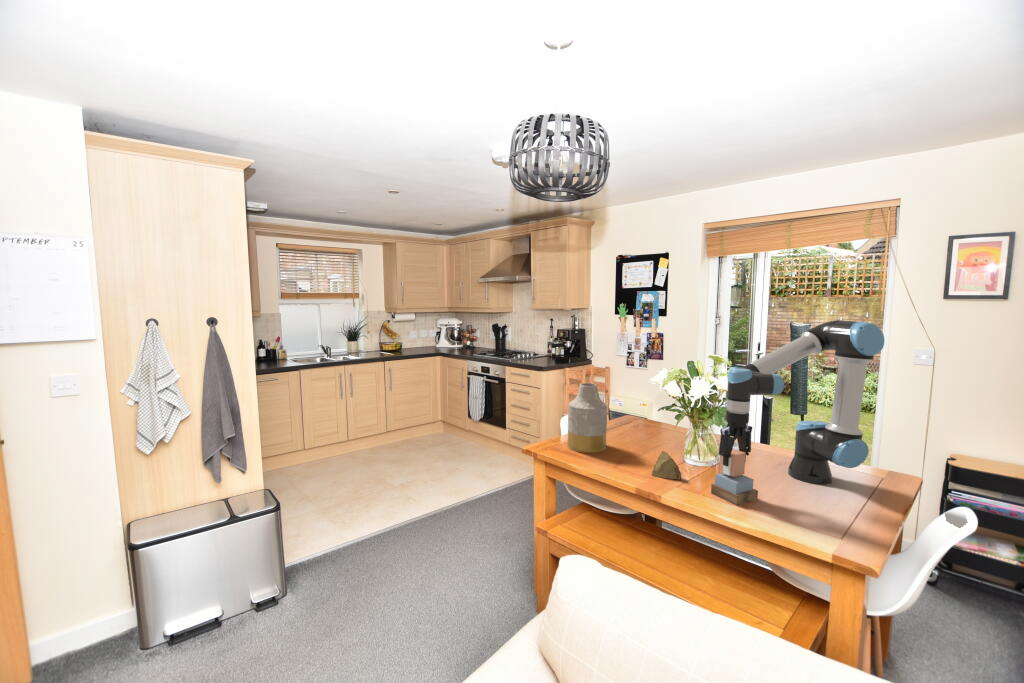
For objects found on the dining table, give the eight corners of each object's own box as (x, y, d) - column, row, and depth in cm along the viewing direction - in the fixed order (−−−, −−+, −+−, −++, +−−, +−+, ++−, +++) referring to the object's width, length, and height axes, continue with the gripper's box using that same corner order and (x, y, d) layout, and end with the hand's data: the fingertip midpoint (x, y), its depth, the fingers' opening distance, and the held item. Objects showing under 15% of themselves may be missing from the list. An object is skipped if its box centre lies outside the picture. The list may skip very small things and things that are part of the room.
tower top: (731, 480, 177) (732, 470, 176) (752, 489, 169) (753, 479, 168) (714, 484, 173) (715, 474, 172) (735, 494, 165) (736, 483, 164)
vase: (566, 440, 234) (567, 380, 231) (602, 441, 233) (604, 381, 230) (569, 452, 216) (570, 388, 213) (608, 453, 215) (611, 389, 212)
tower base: (731, 489, 178) (731, 479, 178) (757, 501, 169) (758, 490, 168) (710, 494, 174) (711, 484, 173) (736, 507, 164) (737, 496, 163)
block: (729, 468, 176) (731, 447, 175) (744, 474, 170) (745, 452, 169) (719, 471, 173) (720, 450, 172) (733, 476, 167) (734, 455, 167)
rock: (689, 473, 187) (670, 461, 195) (682, 459, 183) (663, 448, 191) (671, 491, 184) (652, 479, 193) (664, 478, 180) (645, 466, 189)
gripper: (747, 406, 176) (743, 465, 178) (709, 411, 168) (706, 472, 170) (765, 411, 169) (761, 472, 171) (726, 416, 161) (722, 480, 163)
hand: (733, 472), depth 171 cm, fingers closed on block, 6 cm apart
